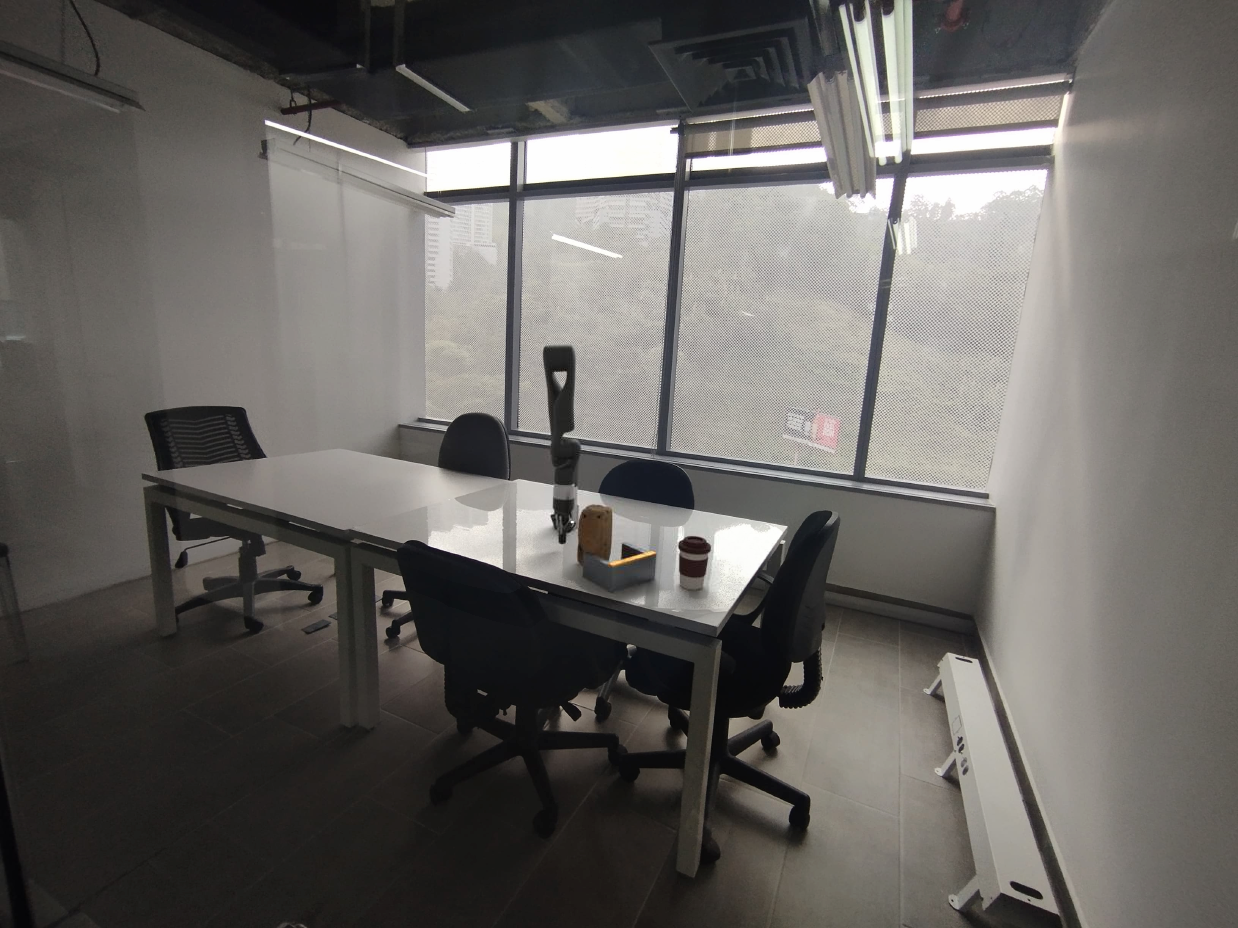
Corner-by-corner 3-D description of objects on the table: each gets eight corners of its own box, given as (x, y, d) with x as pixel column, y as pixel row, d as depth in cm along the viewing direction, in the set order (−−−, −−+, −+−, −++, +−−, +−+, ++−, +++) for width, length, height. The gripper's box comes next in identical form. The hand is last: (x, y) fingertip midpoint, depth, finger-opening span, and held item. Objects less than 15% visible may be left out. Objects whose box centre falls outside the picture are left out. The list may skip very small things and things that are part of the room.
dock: (625, 564, 178) (626, 540, 176) (654, 578, 167) (656, 553, 166) (582, 576, 166) (583, 550, 164) (611, 592, 156) (613, 565, 154)
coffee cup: (689, 576, 171) (692, 531, 168) (713, 586, 164) (718, 540, 161) (668, 583, 164) (672, 537, 161) (693, 595, 157) (697, 547, 154)
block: (612, 564, 177) (615, 506, 174) (603, 571, 171) (606, 512, 167) (583, 557, 181) (585, 501, 178) (573, 565, 175) (575, 506, 171)
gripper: (583, 498, 182) (581, 546, 185) (561, 490, 192) (560, 536, 195) (565, 501, 177) (563, 550, 180) (544, 493, 187) (542, 539, 190)
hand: (562, 543), depth 188 cm, fingers closed
